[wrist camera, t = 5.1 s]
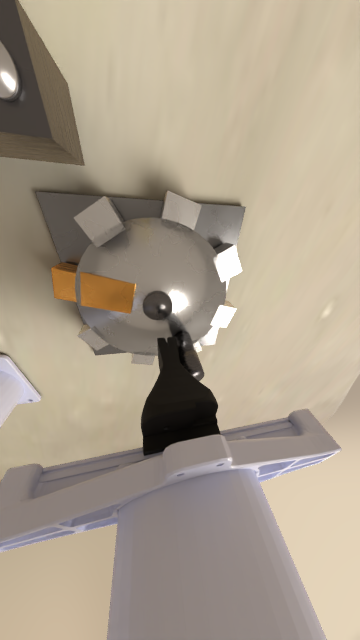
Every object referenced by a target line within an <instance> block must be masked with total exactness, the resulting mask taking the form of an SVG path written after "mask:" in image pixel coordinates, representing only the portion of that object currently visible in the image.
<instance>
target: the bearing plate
mask: <svg viewBox="0 0 360 640" xmlns="http://www.w3.org/2000/svg"><path fill="white" fill-rule="evenodd" d="M36 195H37V198H38V201H39V203H40V206H41V209H42V212H43V214H44V217H45V220H46V222H47V225H48V228H49V231H50V233H51V236H52V239H53V241H54V244H55V247H56V250H57V252H58V255H59V258H60V261H61V263H62V262H64V263H68V264H72V265H77V266H78V265H79V262H80V260H81V257H82V256H83V254H84V252H85V251H86V249H87V248H88V246H89V245H90V244H91V243H92V241H91V240H90V238H89V237H88V236H87V234H86V233H85V232H84V231H83V229H82V228H81V227H80V226H79V224H78V223H77V222H76V220H75V219H74V217H75V216H77V215H78V214H79V213H81V212H82V211H84V210H85V209H87V208H88V207H89V206H91V205H92V204H94V203H95V202H97V201H98V200H99V199H101V198H102V197H104V196H90V195H76V194H62V193H48V192H36ZM108 198H109V199H111V201H112V203H113V204H114V206H115V207H116V209H117V211H118V212H119V214H120V215H121V217H122V219H123V220H124V222H125V221H128V220H132V219H138V218H160V217H161V212H162V207H163V202H164V201H159V200H145V199H131V198H117V197H108ZM198 204H200V205H202V206H201V209H200V213H199V216H198V219H197V222H196V226H195V229H194V231H195V232H197V233H198V234H200V235H201V236H202V237H203V238H204V239H205V240H206V241H208V243H209V244H210V245H211V246H212V247H213V249H215V248H217V247H218V246H220V245H222V244H224V243H225V242H227V243H230V244H233V245H235V247H236V248H237V243H238V239H239V234H240V230H241V226H242V221H243V217H244V212H245V208H246V207H242V206H229V205H215V204H201V203H198ZM229 279H230V278H229ZM229 279H227V280H226V292H227V288H228V283H229ZM76 304H77V307H78V303H77V302H76ZM78 310H79V312H80V309H79V307H78ZM80 315H81V318H82V320H83V323H84V325H85V324H86V321H85V319H84V318H83V316H82V314H81V312H80ZM218 328H219V326H213V327H212V329H211V330H210V331H209V332H208V333H207V334H206V335H205V336H204V337H203V338H201V339H200V340H199V344H200V346H203V345H214V344H215V341H216V337H217V332H218ZM92 348H93V347H92ZM93 350H94V353H95V355H105V354H116V353H127V352H126V351H123V350H120V349H118V348H116V347H114V346H112V345H110V344H108V345H106V346H105V347H103V348H101V349H99V350H95V349H94V348H93Z"/></svg>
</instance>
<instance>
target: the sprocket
mask: <svg viewBox="0 0 360 640" xmlns="http://www.w3.org/2000/svg"><path fill="white" fill-rule="evenodd" d="M201 206H202V205H200V204H198V203H195V202H193V201H191V200H188V199H186V198H184V197H182V196H179V195H177V194H175V193H172V192H170V191H167V192H166V194H165V197H164V202H163V207H162V212H161V217H160V218H138V219H132V220H128V221H125V222H124V220H123V219H122V217H121V215H120V214H119V212H118V211H117V209H116V207H115V206H114V204H113V203H112V201H111V199H109V198H108V197H106V196H104V197H102V198H101V199H99V200H98V201H97V202H95V203H94V204H92V205H91V206H89V207H88V208H87V209H85V210H84V211H82V212H81V213H79V214H78V215H77V216H75V217H74V219H75V220H76V222H77V223H78V224H79V226H80V227H81V228H82V229H83V231H84V232H85V233H86V234H87V236H88V237H89V238H90V240H91V241H92V243H91V244H90V245H89V246H88V248H87V249H86V251H85V252H84V254H83V256H82V257H81V260H80V262H79V265H78V266H77V265H72V264H68V263H64V262H62V263H60V264H58V265H56V266H54V267H52V268H51V271H52V280H53V289H54V298H57V299H63V300H69V301H74V302H77V303H78V307H79V309H80V312H81V314H82V316H83V318H84V319H85V321H86V324H85V325H83V327H82V329H81V331H80V332H79V334H78V337H80V338H81V339H82V340H84V341H85V342H86V343H88V344H89V345H90V346H91V347H93V348H94V349H95V350H99V349H101V348H103V347H105V346H106V345H108V344H110V345H112V346H114V347H116V348H118V349H120V350H123V351H126V352H129V353H132V361H131V363H133V364H147V365H152V364H153V361H154V358H155V356H157V355H158V343H157V338H163V337H164V338H165V339H166V342H167V338H168V337H175V338H176V341H177V346H178V353H179V359H180V363H181V364H182V366H183V367H184V368H185V369H186V370H187V371H188V372H189V373H190V374H191V375H192V376H193V377H194V378H195V379H197V380H198V381H200V380H201V379H202V378H203V377H204V372H203V369H202V366H201V363H200V361H199V358H198V355H197V352H199V351H201V350H202V348H201V346H200V344H199V340H200V339H201V338H203V337H204V336H205V335H206V334H207V333H208V332H209V331H210V330H211V329H212V327H213V326H220V327H227V325H228V323H229V321H230V320H231V318H232V316H233V314H234V312H235V311H236V308H235V307H234V306H233V305H232V304H231V303H230V302H229V301H225V298H226V280H227V279H229V278H230V277H232V276H234V275H236V274H238V273H240V272H241V271H242V270H241V266H240V262H239V258H238V254H237V251H236V247H235V245H233V244H230V243H227V242H225V243H224V244H222V245H220V246H218V247H217V248H215V249H213V247H212V246H211V245H210V244H209V243H208V241H206V240H205V239H204V238H203V237H202V236H201V235H200V234H198V233H197V232H195V231H194V229H195V226H196V222H197V219H198V216H199V213H200V209H201Z"/></svg>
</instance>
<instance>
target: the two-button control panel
mask: <svg viewBox="0 0 360 640" xmlns="http://www.w3.org/2000/svg"><path fill="white" fill-rule="evenodd" d="M0 156H1V157H10V158H19V159H29V160H38V161H47V162H56V163H65V164H75V165H84V160H83V155H82V150H81V146H80V141H79V136H78V131H77V127H76V122H75V117H74V112H73V108H72V103H71V98H70V93H69V89H68V84H67V82H66V80H65V79H64V77H63V75H62V74H61V72H60V70H59V68H58V67H57V65H56V63H55V62H54V60H53V58H52V57H51V55H50V53H49V52H48V50H47V48H46V47H45V45H44V43H43V41H42V40H41V38H40V36H39V35H38V33H37V31H36V30H35V28H34V26H33V25H32V23H31V21H30V19H29V18H28V16H27V14H26V13H25V11H24V9H23V8H22V6H21V4H20V3H19V1H18V0H0ZM84 166H85V165H84Z"/></svg>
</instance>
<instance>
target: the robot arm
mask: <svg viewBox="0 0 360 640" xmlns="http://www.w3.org/2000/svg"><path fill="white" fill-rule="evenodd" d="M157 343H158V359H159V368H160V374H159V377H158V379H157V381H156V383H155V385H154V387H153V389H152V391H151V392H150V394H149V396H148V397H147V399H146V402H145V405H144V408H143V412H142V417H141V429H142V434H143V447H142V448H137V449H132V450H128V451H123V452H118V453H113V454H108V455H104V456H99V457H94V458H89V459H84V460H80V461H75V462H70V463H65V464H60V465H55V466H51V467H46V468H43V467H42V466H41V465H40V464H29V465H24V466H19V467H14V468H10V469H8V470H7V471H6V473H5V475H4V477H3V479H2V480H1V482H0V552H4V551H8V550H11V549H15V548H19V547H22V546H26V545H30V544H34V543H38V542H42V541H46V540H50V539H54V538H58V537H63V536H67V535H71V534H75V533H80V532H84V531H88V530H92V529H97V528H101V527H105V526H110V525H114V524H118V525H117V535H116V546H115V557H114V568H113V579H112V590H111V602H110V611H109V622H108V633H107V640H327V639H326V637H325V634H324V632H323V630H322V627H321V625H320V623H319V620H318V618H317V616H316V613H315V611H314V609H313V606H312V604H311V602H310V599H309V597H308V595H307V592H306V590H305V588H304V585H303V583H302V581H301V578H300V576H299V574H298V572H297V569H296V567H295V564H294V562H293V560H292V558H291V555H290V553H289V551H288V548H287V546H286V543H285V541H284V539H283V536H282V534H281V532H280V529H279V527H278V525H277V523H276V520H275V518H274V515H273V513H272V511H271V508H270V506H269V504H268V501H267V499H266V497H265V494H264V492H263V490H262V488H261V485H260V482H263V481H265V480H268V479H271V478H274V477H277V476H280V475H283V474H286V473H289V472H292V471H295V470H298V469H301V468H304V467H307V466H311V465H315V464H318V463H321V462H322V461H324V460H326V459H327V458H329V457H331V456H333V455H334V454H336V453H338V452H339V451H341V447H340V446H339V445H338V444H337V443H336V441H335V440H334V439H333V438H332V437H331V436H330V434H329V433H328V432H327V431H326V430H325V429H324V427H323V426H322V425H321V424H320V423H319V421H318V420H317V419H316V418H315V417H314V415H313V414H312V413H311V412H310V411H309V410H308V409H302V410H297V411H293V412H291V413H290V414H289V416H288V417H286V418H282V419H277V420H272V421H267V422H262V423H257V424H253V425H248V426H243V427H238V428H233V429H229V430H224V431H219V428H218V425H217V418H216V412H217V409H218V404H217V401H216V399H215V397H214V395H213V393H212V392H211V390H210V389H208V388H207V387H206V386H204V385H203V384H202V383H200V382H199V381H198V380H197V379H195V378H194V377H193V376H192V375H191V374H190V373H189V372H188V371H187V370H186V369H185V368H184V367H183V366H182V364H181V363H180V359H179V353H178V346H177V341H176V338H175V337H168V338H167V342H166V339H165V338H164V337H163V338H157ZM40 399H41V396H40V395H39V393H38V392H37V391H36V390H35V388H34V387H33V386H32V385H31V383H30V382H29V381H28V380H27V378H26V377H25V376H24V375H23V374H22V372H21V371H20V370H19V369H18V367H17V366H16V365H15V364H14V362H13V361H12V360H11V359H10V357H8V356H6V355H0V427H1V426H2V424H3V423H4V422H5V420H6V419H7V417H8V416H9V414H10V413H11V412H12V410H13V409H14V407H15V406H16V405H17V404H24V403H31V402H38V401H40Z"/></svg>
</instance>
